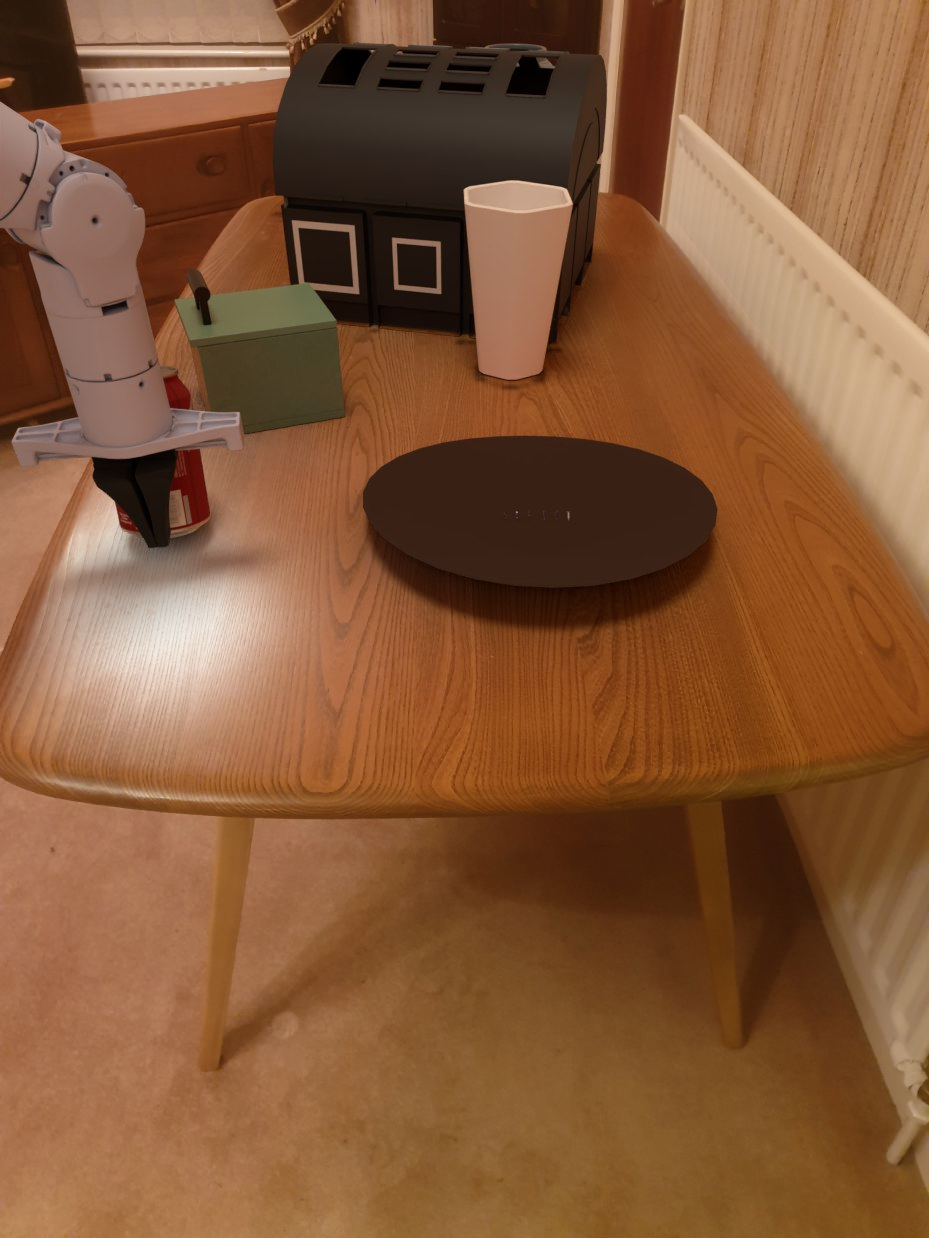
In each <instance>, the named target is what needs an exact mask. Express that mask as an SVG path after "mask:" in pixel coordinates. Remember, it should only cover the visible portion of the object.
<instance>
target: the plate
mask: <svg viewBox="0 0 929 1238" xmlns="http://www.w3.org/2000/svg"><path fill="white" fill-rule="evenodd" d="M362 509H363V511H364V513H365V515H366V518H367V520H368V522H369V524H370V526H372V527H373V528H374V529H375V531H376V532H378V534H379V535H380V536H381V537H382V538H383V539H384V541H386V542H388V543H389V544H390V545H392V546H394V547H395V548H396V549H398V550H400V551H401V552H402V553H404V554H406V555H407V556H409V557H411V558H412V559H413V558H414V559H416V560H418V561H420V562H422V563H425V564H427V565H429V566H431V567H433V568H436V569H438V570H442V571H445V572H449V573H451V574H455V575H458V576H462V577H466V578H469V579H472V580H478V581H482V582H491V583H495V584H501V585H506V586H507V585H508V586H517V587H532V588H551V589H554V588H555V589H559V588H575V587H593V586H601V585H606V584H610V583H616V582H622V581H623V582H624V581H629V580H633V579H637V578H639V577H642V576H645V575H649V574H651V573H655V572H659V571H661V570H664V569H666V568H668V567H670V566H671V565H673V564H676V563H678V562H679V561H681V560H683V559H685V558H687V557H689V556H690V555H691V554H692V553H694V552H695V551H696V550H697V549H699V548H700V547H701V546H702V545H703V544H704V543H706V541H707V540H708V538H709V536H710V535H711V533H712V531H713V530H714V528H715V527H716V525H717V518H718V506H717V503H716V500H715V496H714V494H713V492H712V491H711V490H710V489H709V488H708V486H707V485H706V484H705V483H704V481H703V480H702V479H701V478H699V477H698V476H697V475H695V474H694V473H693V472H691V471H690V470H688V469H687V468H685V467H684V466H682V465H680V464H678V463H676V462H674V461H672V460H669V459H668V458H666V457H664V456H662V455H661V456H660V455H659V454H655V453H651V452H650V451H649V452H648V451H646V450H643V449H640V448H635V447H631V446H627V445H622V444H618V443H614V442H607V441H601V440H594V439H588V438H577V437H566V436H555V435H553V436H552V435H496V436H495V435H494V436H483V437H471V438H469V437H468V438H464V439H463V438H462V439H456V440H451V441H445V442H444V441H443V442H440V443H435V444H432V445H427V446H424V447H423V446H422V447H419V448H417V449H414V450H411V451H408V452H406V453H404V454H401V455H398V456H396V457H394V458H393V459H391V460H390V461H388V462H386V463H385V464H383V465H381V466H380V467H379V468H378V469H377V470H376V471H375V472H374V473H373V474H372V475H371V476H370V477H369V478H368V480H367V482H366V485H365V486H364V489H363V491H362Z"/></svg>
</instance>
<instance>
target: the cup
mask: <svg viewBox="0 0 929 1238" xmlns="http://www.w3.org/2000/svg"><path fill="white" fill-rule="evenodd" d="M464 204H465V215H466V227H467V238H468V250H469V262H470V273H471V285H472V296H473V308H474V320H475V331H476V338H475V341H476V342H475V343H476V352H477V353H476V355H477V366H478V371H479V372H480V373H481V374H484V375H486V376H491V377H495V378H500V379H503V380H506V381H507V380H509V381H510V380H511V381H514V380H521V379H525V378H527V377H532V376H536V375H539V374H540V373H541V372H543V369H544V364H545V358H546V354H547V353H546V352H547V347H548V344H547V342H548V337H549V331H550V326H551V320H552V315H553V310H554V304H555V299H556V293H557V288H558V282H559V277H560V272H561V266H562V261H563V255H564V250H565V244H566V239H567V234H568V228H569V223H570V217H571V212H572V206H573V203H572V200H571V198H570V195H569V193H568V190H567V189H565V188H563V187H558V186H551V185H545V184H538V183H531V182H524V181H503V182H497V183H490V184H483V185H476V186H469V187H467V188H465V189H464Z"/></svg>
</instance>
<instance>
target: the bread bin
mask: <svg viewBox="0 0 929 1238" xmlns="http://www.w3.org/2000/svg"><path fill="white" fill-rule="evenodd" d="M189 346H190V345H189ZM190 352H191V356H192V361H193V366H194V371H195V376H196V381H197V384H198V390H199V395H200V397H201V400H202V402H203V405H204V408H205V411H206V412H222V413H229V412H240V415H241V421H242V426H243V432H244V435H246V434H250V433H251V434H252V433H258V432H263V431H270V430H274V429H280V428H286V427H287V428H288V427H292V426H298V425H303V424H304V425H305V424H311V423H316V422H322V421H328V420H333V419H334V420H335V419H339V418H345V417H346V411H345V401H344V389H343V388H344V387H343V379H342V367H341V357H340V344H339V333H338V327H336V328H328V329H321V330H314V331H307V332H300V333H292V334H285V335H278V336H271V337H264V338H256V339H249V340H242V341H235V342H227V343H220V344H213V345H206V346H199V347H191V346H190Z"/></svg>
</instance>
